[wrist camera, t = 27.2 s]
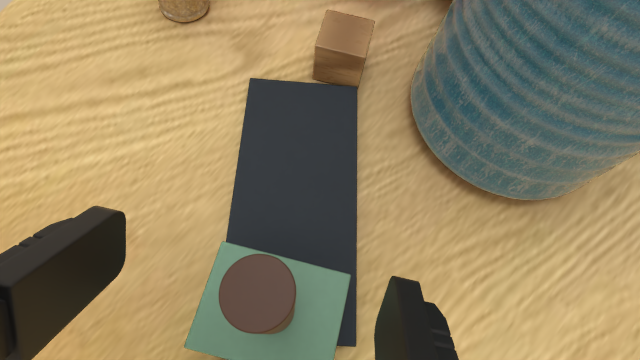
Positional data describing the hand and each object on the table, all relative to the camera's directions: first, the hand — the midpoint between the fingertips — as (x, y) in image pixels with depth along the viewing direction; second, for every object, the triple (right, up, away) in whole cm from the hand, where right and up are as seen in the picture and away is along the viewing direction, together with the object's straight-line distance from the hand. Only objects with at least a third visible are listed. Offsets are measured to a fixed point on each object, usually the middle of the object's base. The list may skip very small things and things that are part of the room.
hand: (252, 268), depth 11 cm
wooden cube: (+4, +13, +21) cm, 25 cm away
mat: (0, +1, +16) cm, 16 cm away
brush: (-1, -6, +13) cm, 14 cm away
